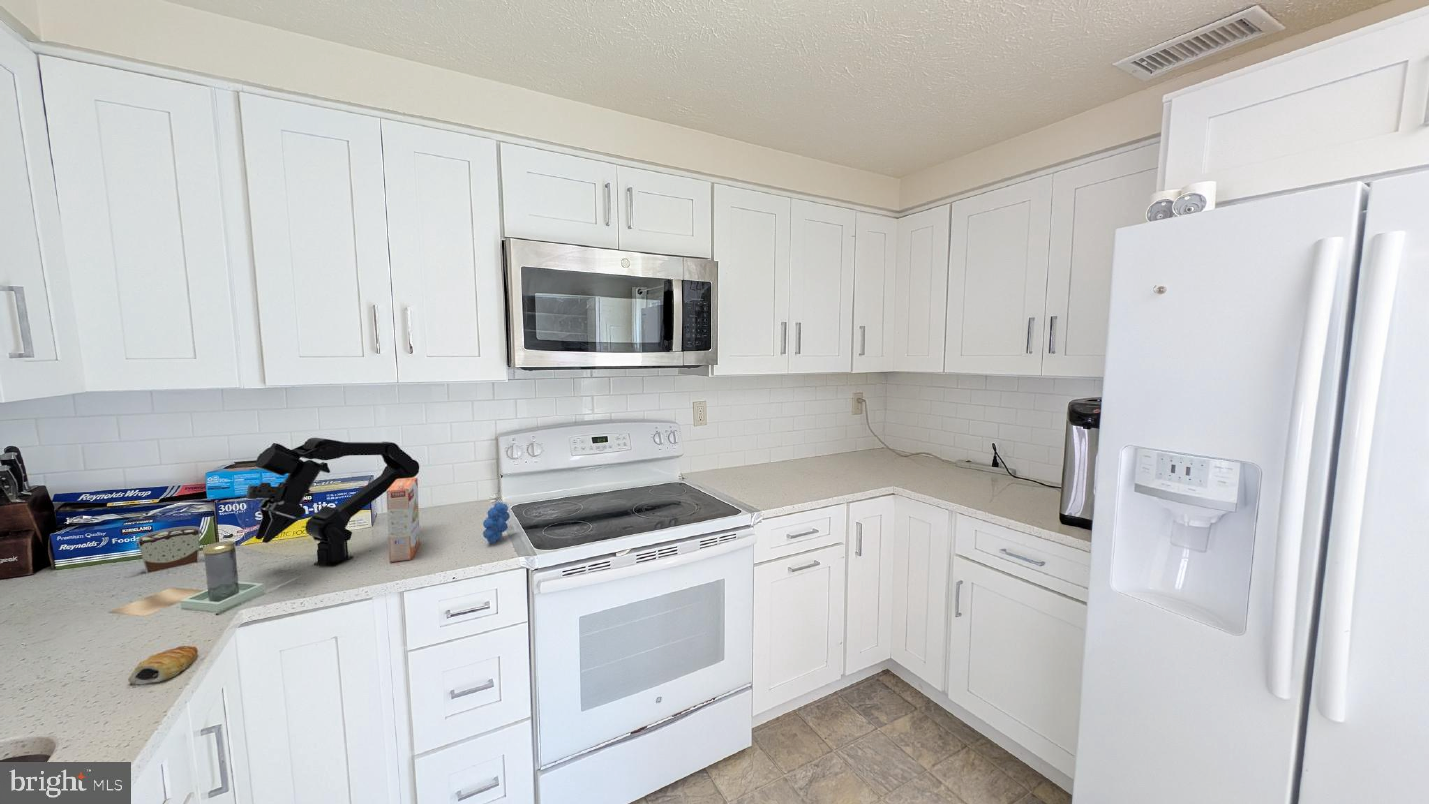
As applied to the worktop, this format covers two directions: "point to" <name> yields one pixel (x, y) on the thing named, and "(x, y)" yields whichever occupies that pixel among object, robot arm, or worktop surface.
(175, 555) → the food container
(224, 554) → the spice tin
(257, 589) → the dish
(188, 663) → the pastry
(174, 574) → the worktop surface
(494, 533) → the grapes
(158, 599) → the cork mat
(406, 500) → the cracker box
